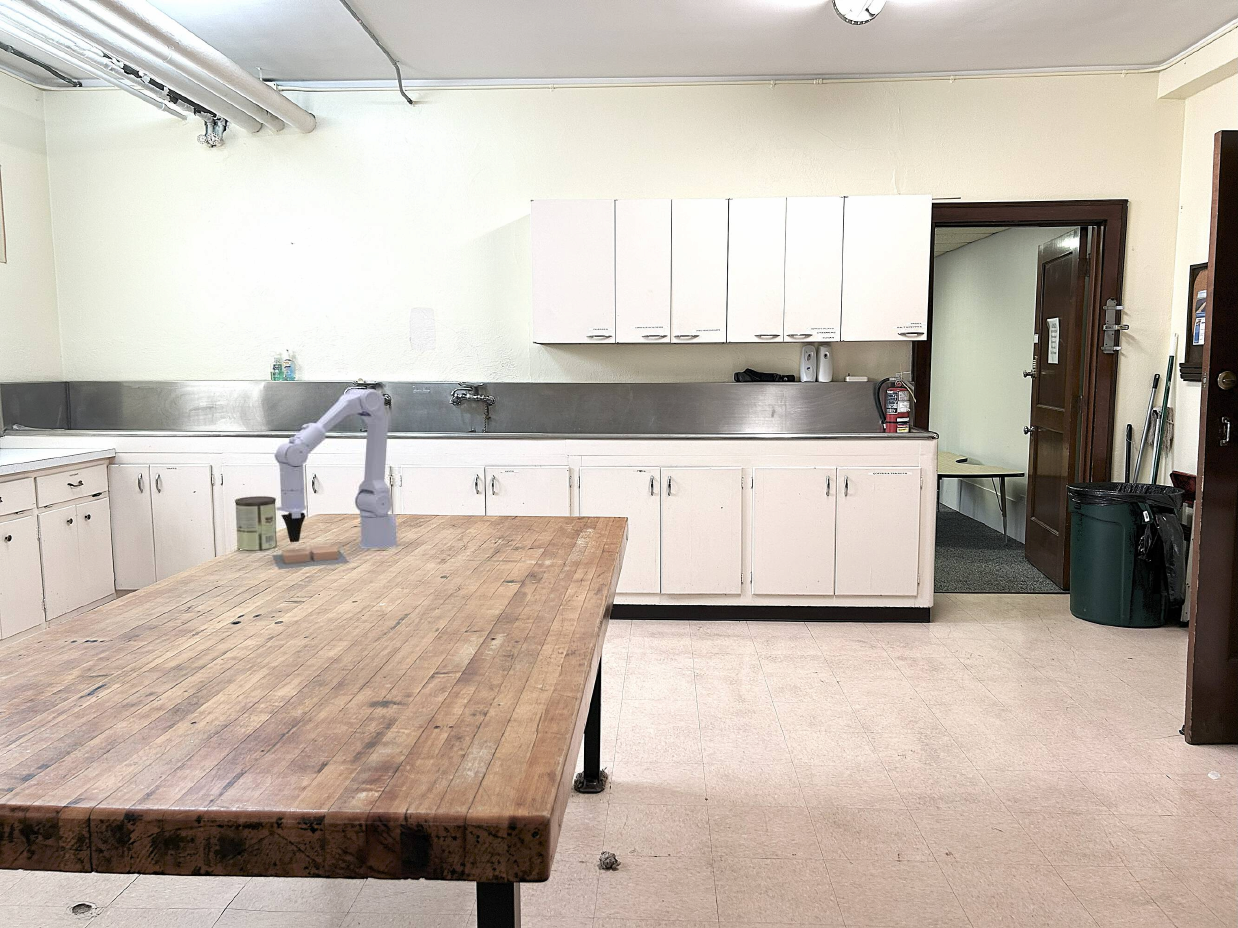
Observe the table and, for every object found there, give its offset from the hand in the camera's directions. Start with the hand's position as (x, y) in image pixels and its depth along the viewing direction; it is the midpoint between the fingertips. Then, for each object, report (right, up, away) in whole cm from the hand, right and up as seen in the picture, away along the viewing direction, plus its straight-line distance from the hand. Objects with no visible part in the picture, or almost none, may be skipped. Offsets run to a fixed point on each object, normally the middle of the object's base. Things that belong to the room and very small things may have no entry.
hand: (294, 541), depth 229 cm
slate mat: (+4, -5, 0) cm, 6 cm away
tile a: (+6, -3, +5) cm, 8 cm away
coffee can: (-15, -4, +13) cm, 20 cm away
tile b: (-1, -3, +2) cm, 4 cm away
